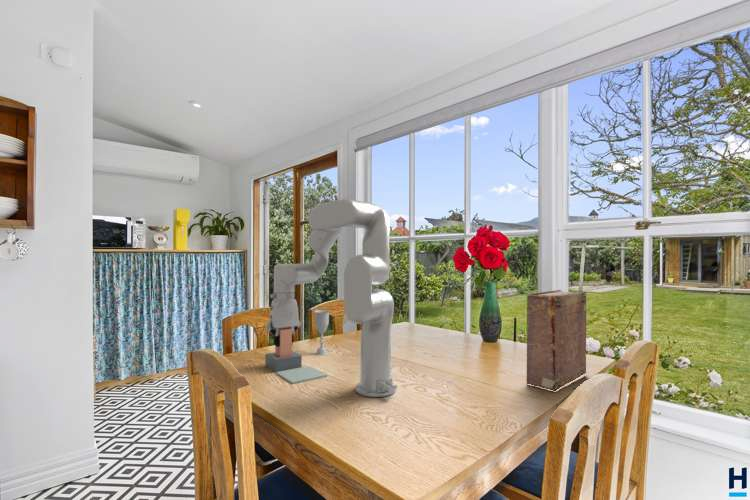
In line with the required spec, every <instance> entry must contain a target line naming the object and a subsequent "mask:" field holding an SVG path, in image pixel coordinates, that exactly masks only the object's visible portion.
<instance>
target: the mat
mask: <svg viewBox="0 0 750 500" xmlns="http://www.w3.org/2000/svg"><path fill="white" fill-rule="evenodd" d="M275 373H276V375H277V376H279V377H281V378H282V379H284V380H285V381H287V382H288V383H289V384H291V385H295V384H299V383H304V382H308V381H313V380H317V379H321V378H326V377H328V374H326V373H324V372H322V371H321V370H319V369H316V368H315V367H314V366H310V365H306V366H303V367H302V366H301V368H295V369H290V370H285V371H280V372H275Z"/></svg>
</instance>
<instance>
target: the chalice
mask: <svg viewBox="0 0 750 500" xmlns="http://www.w3.org/2000/svg"><path fill="white" fill-rule="evenodd" d="M313 312H314V323H315V327H316V331H318V333H319V334H320V337H319V338H320V342H319V344H320V346H319V347H318V348H317V349H316V352H315V355H317V356H325V355H326V356H327V355H328V352H327V348H326V347H324V342H325V341H324V333H326V332H327V329H328V327H329V324H330V321H329V320H330V312H331V311H330V310H328V309H316V310H314V311H313Z"/></svg>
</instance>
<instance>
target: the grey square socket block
mask: <svg viewBox="0 0 750 500" xmlns="http://www.w3.org/2000/svg"><path fill="white" fill-rule="evenodd" d="M302 359H303V358H302V355H301V354H299V353H297V352H295V351H294V350H292V355H291V356H285V357H278V356H276V355H275V352H269V353H265V361H264V363H265V365H264V366H265V367H266V368H268V369H269V370H271V371H273V372H275V373H276V372H280V371H285V370H290V369H295V368H301V367H302Z"/></svg>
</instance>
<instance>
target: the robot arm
mask: <svg viewBox="0 0 750 500" xmlns="http://www.w3.org/2000/svg"><path fill="white" fill-rule="evenodd" d="M307 219H308V224H309V226H310V228H311V229H313V230H312V232H311V233H310V234H309V236H308V237H307V244H308V246H309V247H310V249H311V250H312V251H314V252H315V253H314V256H312V258H311V260H310V261H309V262H308V263H307V262H306V263H305V262H304V263H278V264H277V263H276V264H275V265H274V267H273V293H272V294H270V295H269V297H270V299H273V300H272V301H271V305H270V308H269V309H270V310H269V320H268V322H267V323H266V325H265V326H264V329H265V330H267V331H268V332H270V333H271V334H272V335H273V344H274V347H275V346H277V347H279V346H280V336H279V330H280V328H286V327H289V328H291V329H292V345H293V344H294V335H295V334H296V331H297V330H298V328H300V327H301V326H302V325H303V324H302V322H301V321H300V319H299V317H300V316H299V307H298V302H297V300H296V299H295V286H296V285H304V284H305V285H306V284H312V283H313V284H314V283H315V282H317V281H318V280H319V279H320V278H321V276H322V275H323V274H324V272H325V271H326V269H327V267H328V264H329V259H330V258H329V257H330V254H329V252H330V250H331V248H332V247H333V245H334V244H335V243H336V241H337V240H338V238H339V237H340V236H341V234H342V233H343V231H344V230H345V228H357V229H359V228H360V229H364V230H365V232H364V235H363V238H362V245H361V246H362V254H359V255H358V254H357V255H353V256H352V257H350V259H349V260H348V261H347V263H346V265H345V268H344V273H343V274H344V275H343V276H344V278H343V288H344V289H343V291H344V292H343V295H344V296H343V302H344V305H343V306H344V311H345V315H346V317H347V318H348V320H349V321H350V322H352V323H353V324H355V325H356V324H357V325H361V324H362V327H361V331H360V381H359V382H358V383H357V384H356V385H355V392H356V393H357V394H358V395H361V396H364V397H371V398H385V397H389V396H391V395H392V394H394V393H396V390H397V388H398V386H397V385H396V384H394V383H393V377H391V376H392V373H391V371H392V367H391V365H392V326H393V325H392V323H393V319H394V318H393V317H394V311H395V301H394V298H393V296H392V295H391V294H390V293H389V292H388V291H387V290H384V289H381V288H373V287H372V286H379V285H382V284H384V283H386V282H387V281H388V279H389V277H390V272H391V267H390V262H391V260H390V257H391V255H390V254H391V253H390V236H391V235H390V232H391V222H390V217H389V215H388V213H387V211H386V210H384V208H382V207H381V206H379V205H377V204H375V203H370V202H367V201H361V200H355V199H349V198H347V199H346V198H345V199H338V200H334V201H329V202H325V203H324V202H323V203H319V204H318V205H315V206H314V207H313V208H312V209H311V210H310V212H309V214H308V218H307Z"/></svg>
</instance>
